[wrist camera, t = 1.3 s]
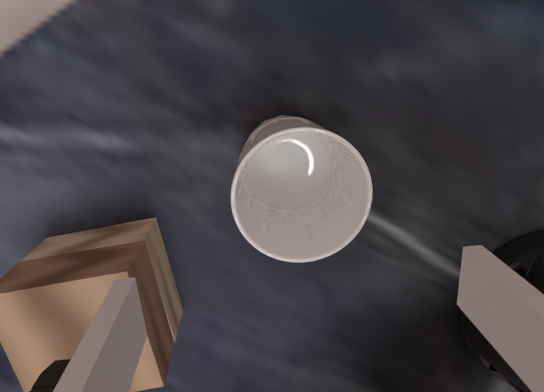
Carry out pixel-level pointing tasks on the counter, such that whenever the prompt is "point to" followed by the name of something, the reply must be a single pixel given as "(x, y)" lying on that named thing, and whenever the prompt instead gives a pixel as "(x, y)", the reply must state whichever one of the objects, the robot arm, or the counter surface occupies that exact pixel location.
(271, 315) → the counter surface
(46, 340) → the tower top
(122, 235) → the tower bottom
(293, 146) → the white cup
